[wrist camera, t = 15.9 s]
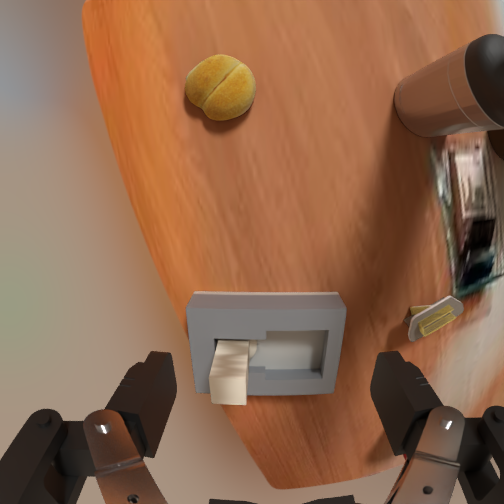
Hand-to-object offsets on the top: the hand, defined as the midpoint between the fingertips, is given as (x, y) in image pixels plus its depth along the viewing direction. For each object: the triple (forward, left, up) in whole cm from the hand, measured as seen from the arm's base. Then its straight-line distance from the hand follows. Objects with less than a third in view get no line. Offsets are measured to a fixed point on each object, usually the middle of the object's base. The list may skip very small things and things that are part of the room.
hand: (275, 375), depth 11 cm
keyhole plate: (0, +16, -30) cm, 34 cm away
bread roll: (+6, -18, -31) cm, 36 cm away
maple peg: (+4, +16, -29) cm, 33 cm away
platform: (-25, +12, -31) cm, 41 cm away
